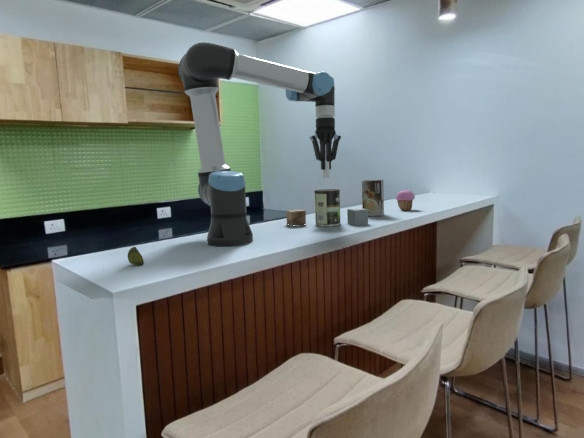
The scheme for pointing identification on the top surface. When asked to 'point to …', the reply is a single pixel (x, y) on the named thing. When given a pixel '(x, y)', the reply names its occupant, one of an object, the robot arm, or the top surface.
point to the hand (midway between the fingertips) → (326, 178)
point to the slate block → (357, 216)
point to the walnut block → (296, 217)
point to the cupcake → (405, 199)
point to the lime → (135, 256)
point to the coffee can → (327, 207)
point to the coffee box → (373, 197)
